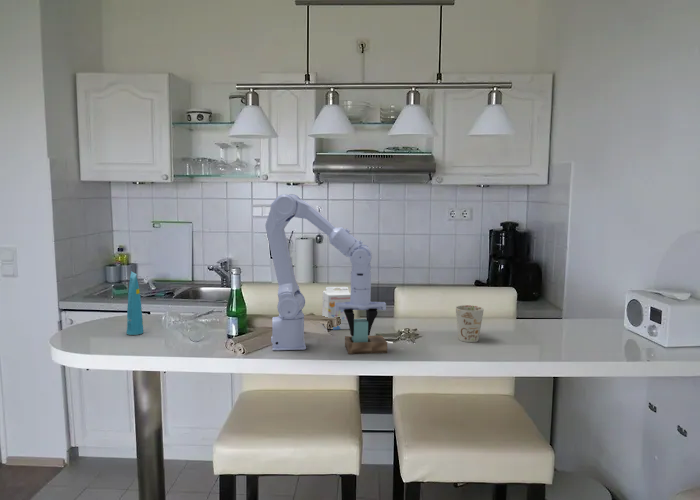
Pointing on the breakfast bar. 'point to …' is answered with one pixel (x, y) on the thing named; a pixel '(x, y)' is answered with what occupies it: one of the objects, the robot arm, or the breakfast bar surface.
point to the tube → (134, 307)
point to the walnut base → (366, 345)
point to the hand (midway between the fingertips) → (359, 334)
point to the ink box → (329, 304)
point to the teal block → (360, 330)
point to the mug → (469, 322)
